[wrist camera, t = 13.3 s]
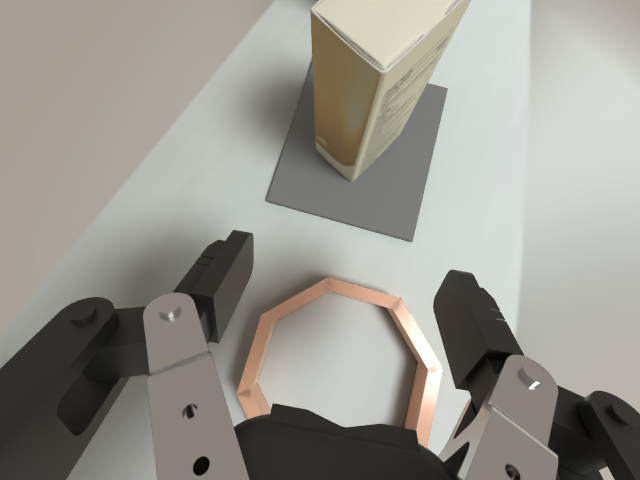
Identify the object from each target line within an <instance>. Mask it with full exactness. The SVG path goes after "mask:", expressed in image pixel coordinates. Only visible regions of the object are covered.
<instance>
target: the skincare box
mask: <svg viewBox="0 0 640 480" xmlns="http://www.w3.org/2000/svg"><path fill="white" fill-rule="evenodd" d="M470 1H471V0H319V1H318V2H317V3H316V4H315V5H314V6H312V8H311V34H312V61H313V88H314V116H315V144H316V150H317V151H318V152H319V153H320V154H321V155H322V156H323V157H324V158H325V159H326V160H327V161H328V162H329V163H330V164H331V165H332V166H333V167H334V168H335V169H337V170H338V171H339V172H340V173H341V174H342V175H343V176H344V177H345V178H346V179H348V180H349V181H350V182H352V181H354V180H355V179H356V178H357V177H358V176H360V175H361V174H362V173H363V172H364V171H365V170H366V169H367V168H368V167H369V166H370V165H371V164H372V163H373V162H374V161H375V160H376V159H377V158H378V157H379V156H380V155H381V154H382V153H383V152H384V151H385V150H386V149H387V148H388V147H389V146H390V145H391V143H392V142H393V141H394V140H395V139H396V138H397V137H398V136H399V135H400V133H401V132H402V130H403V128H404V126H405V124H406V122H407V120H408V118H409V116H410V115H411V113H412V111H413V109H414V107H415V105H416V103H417V101H418V99H419V97H420V96H421V94H422V92H423V90H424V88H425V86H426V84H427V82H428V81H429V79H430V77H431V75H432V73H433V71H434V69H435V67H436V65H437V64H438V62H439V60H440V58H441V56H442V54H443V52H444V50H445V49H446V47H447V45H448V43H449V41H450V39H451V37H452V35H453V34H454V32H455V30H456V28H457V26H458V24H459V22H460V20H461V18H462V16H463V15H464V13H465V11H466V9H467V7H468V5H469V3H470Z"/></svg>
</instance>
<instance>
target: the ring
mask: <svg viewBox="0 0 640 480" xmlns="http://www.w3.org/2000/svg"><path fill="white" fill-rule="evenodd" d="M329 291H331V292H334V293H338V294H341V295H345V296H348V297H352V298H355V299H359V300H362V301H365V302H369V303H372V304H376V305H379V306H383V307H386V308H387V310H388V312H389V313H390V315H391V317H392V319H393V320H394V322H395V324H396V326H397V327H398V329H399V331H400V332H401V334H402V336H403V338H404V339H405V341H406V343H407V344H408V346H409V348H410V350H411V351H412V353H413V355H414V357H415V358H416V360H417V362H418V364H417V369H416V374H415V378H414V383H413V388H412V393H411V397H410V402H409V407H408V412H407V416H406V421H405V426H404V428H406V429H412V430H416V431H417V437H418V443H419V444H421V445H423V446H424V447H426V448H427V446H428V441H429V435H430V430H431V425H432V420H433V415H434V410H435V405H436V400H437V394H438V389H439V384H440V379H441V374H442V369H443V368H442V366H441V365H440V363H439V361H438V360H437V358H436V356H435V354H434V353H433V351H432V349H431V348H430V346H429V344H428V343H427V341H426V339H425V338H424V336H423V334H422V333H421V331H420V329H419V327H418V326H417V324H416V322H415V321H414V319H413V317H412V316H411V314H410V312H409V311H408V309H407V307H406V306H405V304H404V302H403V300H402V299H401V298H399V297H396V296H392V295H389V294H385V293H382V292H378V291H375V290H371V289H368V288H364V287H361V286H357V285H354V284H350V283H347V282H343V281H340V280H336V279H333V278H329V277H327V278H326V279H324V280H322V281H320V282H319V283H317V284H315V285H313V286H311V287H310V288H308V289H306V290H304V291H303V292H301V293H299V294H297V295H295V296H294V297H292V298H290V299H288V300H287V301H285V302H283V303H281V304H279V305H278V306H276V307H274V308H272V309H270V310H269V311H267V312H265V313H263V314H262V315H261V317H260V320H259V324H258V327H257V330H256V333H255V336H254V340H253V343H252V346H251V349H250V353H249V356H248V359H247V362H246V365H245V369H244V372H243V375H242V378H241V381H240V385H239V388H238V391H237V394H236V395H237V397H238V399H239V401H240V404H241V406H242V408H243V410H244V412H245V414H246V416H247V418H248V419H250V418H253V417H256V416H260V415H264V414H270V413H271V410H270V408H269V405H268V403H267V401H266V399H265V397H264V395H263V393H262V391H261V389H260V387H259V385H258V379H259V376H260V373H261V370H262V366H263V363H264V360H265V356H266V353H267V350H268V346H269V343H270V340H271V336H272V333H273V330H274V326H275V323H276V321H278V320H280V319H281V318H283V317H285V316H287V315H288V314H290V313H292V312H294V311H295V310H297V309H299V308H301V307H302V306H304V305H306V304H308V303H310V302H311V301H313V300H315V299H317V298H318V297H320V296H322V295H324V294H325V293H327V292H329Z"/></svg>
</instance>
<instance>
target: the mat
mask: <svg viewBox="0 0 640 480" xmlns="http://www.w3.org/2000/svg"><path fill="white" fill-rule="evenodd" d="M447 89H448V88H444V87H440V86H436V85H432V84H428V83H427V84H426V86H425V88H424V90H423V92H422V94H421V96H420V97H419V99H418V101H417V103H416V105H415V107H414V109H413V111H412V113H411V115H410V116H409V118H408V120H407V122H406V124H405V126H404V128H403V130H402V132H401V133H400V135H399V136H398V137H397V138H396V139H395V140H394V141H393V142H392V143H391V145H390V146H389V147H388V148H387V149H386V150H385V151H384V152H383V153H382V154H381V155H380V156H379V157H378V158H377V159H376V160H375V161H374V162H373V163H372V164H371V165H370V166H369V167H368V168H367V169H366V170H365V171H364V172H363V173H362V174H361V175H360V176H358V177H357V178H356V179H355V180H354V181H352V182H350V181H349V180H348V179H346V178H345V177H344V176H343V175H342V174H341V173H340V172H339V171H338V170H337V169H335V168H334V167H333V166H332V165H331V164H330V163H329V162H328V161H327V160H326V159H325V158H324V157H323V156H322V155H321V154H320V153H319V152H318V151H317V150H316V144H315V116H314V88H313V62H312V65H311V68H310V71H309V74H308V77H307V80H306V83H305V86H304V89H303V92H302V95H301V98H300V101H299V104H298V107H297V110H296V113H295V116H294V119H293V122H292V125H291V128H290V131H289V134H288V137H287V140H286V143H285V146H284V149H283V152H282V155H281V158H280V161H279V164H278V167H277V170H276V173H275V176H274V179H273V182H272V185H271V188H270V191H269V194H268V197H267V202H270V203H273V204H277V205H280V206H284V207H288V208H291V209H295V210H298V211H302V212H305V213H309V214H313V215H316V216H320V217H323V218H327V219H330V220H334V221H338V222H341V223H345V224H348V225H352V226H356V227H359V228H363V229H366V230H370V231H373V232H377V233H381V234H384V235H388V236H391V237H395V238H399V239H402V240H406V241H409V242H412V241H413V237H414V233H415V228H416V224H417V220H418V215H419V211H420V206H421V202H422V198H423V193H424V189H425V185H426V180H427V176H428V172H429V167H430V163H431V159H432V154H433V150H434V146H435V141H436V137H437V133H438V128H439V124H440V120H441V115H442V111H443V107H444V102H445V98H446V94H447Z"/></svg>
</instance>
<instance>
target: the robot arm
mask: <svg viewBox="0 0 640 480" xmlns="http://www.w3.org/2000/svg"><path fill="white" fill-rule="evenodd" d="M252 269H253V234H252V233H248V232H243V231H237V230H233V231H232V232H231V234H230V235H229V237H228V238H227V240H226V241H222V240H217V241H216V242H214V243H212V244H211V245H209V246H208V247H207V248H206V249H205V250H204V252H203V253H202V254H201V257H199V258H198V260H197V261H196V262H195V264H194V265H193V266H192V268H191V269H190V270H189V272H188V273H187V274H186V275H185V277H184V278H183V279H182V281H181V282H180V283H179V285H178V286H177V287H176V289H175V290H174V291H173V292H172V293H168V294H164V295H162V296H159V297H157V298H156V299H154V300H153V301H151V302H150V303H149V304H148V305H147V306H146V307H137V308H125V309H115V308H114V306H113V304H112V302H111V301H109V300H108V299H105V298H101V297H92V298H86V299H82V300H79V301H76V302H74V303H72V304H70V305H68V306H67V307H65V308H64V309H62V310H61V311H60V312H59V313H58V314H57V315H56V316H55V317H54V318H53V319H52V320H51V321H49V322H48V323H47V324H46V325H45V326H44V327H43V328H42V329H41V330H40V331H39V332H38V333H37V334H36V335H35V336H34V337H33V338H32V339H31V340H30V341H29V342H28V343H27V344H26V345H25V346H24V347H22V348H21V349H20V350H19V351H18V352H17V353H16V354H15V355H14V356H13V357H12V358H11V359H10V360H9V361H8V362H7V363H6V364H5V365H4V366H3V367H2V368H1V369H0V480H66V479H67V477H68V475H69V474H70V472H71V471H72V469H73V467H74V466H75V464H76V463H77V461H78V459H79V458H80V456H81V455H82V453H83V451H84V450H85V448H86V447H87V445H88V443H89V442H90V440H91V439H92V437H93V435H94V434H95V432H96V431H97V429H98V427H99V426H100V424H101V423H102V421H103V419H104V418H105V416H106V415H107V413H108V411H109V410H110V408H111V407H112V405H113V403H114V402H115V400H116V399H117V397H118V395H119V394H120V392H121V391H122V389H123V387H124V386H125V384H126V383H127V381H128V379H129V378H130V377H131V376H138V375H146V374H149V375H147V388H148V397H149V406H150V416H151V425H152V434H153V443H154V453H155V462H156V471H157V480H603V478H602V476H601V474H600V472H599V470H600V469H603V468H605V467H607V466H608V468H609V470H610V472H611V473H612V475H613V477H614V479H615V480H640V414H639V413H638V412H637V411H636V410H635V409H634V408H632V407H631V406H630V405H629V404H627V403H626V402H625V401H623V400H622V399H620V398H618V397H617V396H615V395H612V394H610V393H607V392H604V391H595V392H593V393H592V394H590V395H588V396H587V397H586V398H584V397H582V396H580V395H578V394H576V393H573V392H571V391H569V390H567V389H564V388H562V387H560V386H558V385H556V383H555V381H554V379H553V378H552V376H551V375H550V374H549V373H548V371H547V370H546V369H545V368H543V367H542V366H541V365H540V364H538V363H537V362H535V361H534V360H532V359H530V358H528V357H525V356H524V354H523V352H522V350H521V349H520V347H519V345H518V344H517V341H516V339H515V337H514V335H513V334H512V332H511V330H510V328H509V326H508V324H507V322H505V319H504V317H503V315H502V313H501V312H500V309H499V307H498V306H497V304H496V302H495V300H494V298H493V297H492V296H491V295H490V294H489V293H488V292H487V291H486V290H485V289H484V288H480V287H479V285H478V283H477V281H476V279H475V277H474V275H473V274H472V273H468V272H463V271H457V270H450V271H449V272H448V273H447V275H446V277H445V279H444V281H443V282H442V284H441V286H440V288H439V290H438V292H437V294H436V296H435V298H434V303H433V309H434V313H435V317H436V321H437V324H438V328H439V331H440V335H441V338H442V342H443V345H444V349H445V352H446V356H447V359H448V363H449V366H450V370H451V373H452V377H453V380H454V384H455V388H456V389H461V390H467V391H469V392H470V395H471V398H470V399H469V400H468V402H467V403H466V405H465V407H464V410H463V412H462V414H461V416H460V418H459V420H458V422H457V424H456V426H455V428H454V430H453V432H452V434H451V436H450V438H449V440H448V442H447V444H446V446H445V447H444V449H443V450H442V451H441V453H440V454H439V456H437V455H435V454H434V453H433V452H432V451H430V450H429V449H427V448H426V447H424V446H423V445H421V444H419V443H418V437H417V431H416V430H412V429H406V428H401V427H396V426H390V425H385V424H374V425H365V426H356V427H341V426H339V425H337V424H335V423H333V422H331V421H329V420H327V419H325V418H323V417H321V416H319V415H317V414H315V413H313V412H311V411H309V410H306V409H300V408H295V407H290V406H284V405H279V404H274V403H273V405H272V409H271V413H270V414H264V415H260V416H256V417H253V418H250V419H248V420H245V421H243V422H241V423H240V424H238V425H236V426H235V427H233V423H232V420H231V417H230V414H229V410H228V407H227V404H226V400H225V397H224V394H223V390H222V387H221V384H220V380H219V377H218V374H217V370H216V367H215V364H214V361H213V357H212V355H211V352H209V350H208V347H207V345H208V343H209V342H214V343H219V342H220V340H221V338H222V336H223V333H224V331H225V329H226V327H227V325H228V323H229V321H230V319H231V317H232V314H233V312H234V310H235V308H236V306H237V304H238V302H239V300H240V298H241V295H242V293H243V291H244V289H245V287H246V285H247V283H248V281H249V278H250V276H251V273H252Z"/></svg>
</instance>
